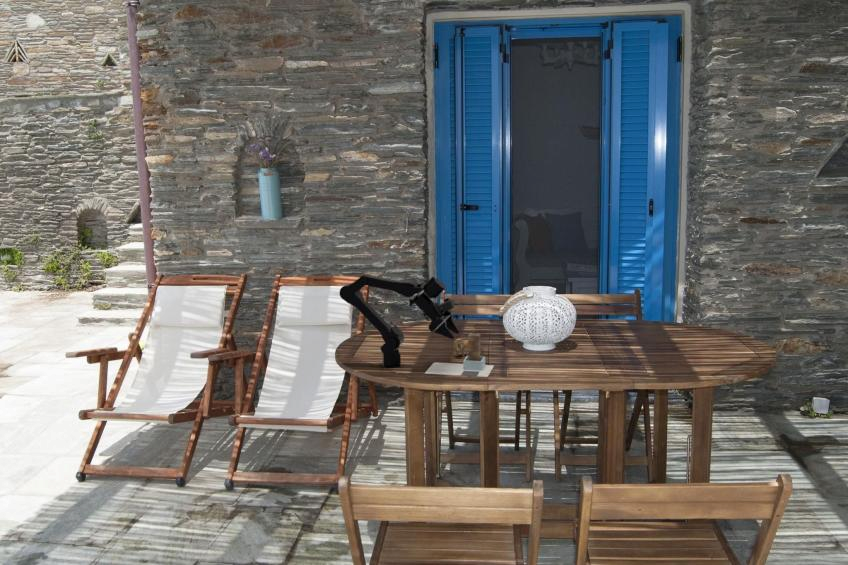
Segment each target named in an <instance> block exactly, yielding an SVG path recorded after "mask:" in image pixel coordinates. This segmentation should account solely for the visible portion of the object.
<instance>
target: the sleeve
mask: <svg viewBox="0 0 848 565" xmlns="http://www.w3.org/2000/svg"><path fill="white" fill-rule="evenodd" d="M462 364H463V370H480V371H482V370H483V368H484V367H485V365H486V356H480V361H468V355H466V356H465V358H464V359H463V362H462Z"/></svg>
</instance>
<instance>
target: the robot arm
mask: <svg viewBox="0 0 848 565" xmlns="http://www.w3.org/2000/svg"><path fill="white" fill-rule="evenodd" d="M366 286H368V287H372V288H377V289H382V290H388V291H392V292H395V293H397V294H398V295H400V296H402V297H403V296H404V297H405V298H409V300H408V301H409V307H412V306H414V304H415V306H416V307H417V308H418V309H419V310H420V312H422V313H423V314H422V315H423V316H424V317H427V318H428V319H429V320H430V323H429V325H428V329H429V331H430V332H431V333H435V334H438V335H441V336H444V337H446V338H448V339H451V340H454V338H455V336H454V334H453V333H455V334H457V335H458V334H459V333H460V331H459V329H458V326H457V325H456V324H455V322H454V320H453V319H454V317H453V316H454V313H453V310H452V309H454V308H455V307H456V305H455V304H454V303H455V301H454V300H453V299H452V298H449V297H447V298H444V299H443V302H441V303H440V304H439V303H438V302H434V301H433V299H434V300H435V299H437V298H438V297H439V296H440V295H441V294H442V293H443V292H445V290H446V289H447V287H446V285H445V284H444V283H443V281H441V280H440V279H438V278H436V277H435V276H431V278H430V279H429V280H428V281H427V282H426V283H425V284H423V283H418V281H416V280H414V279H413V280H412V279H411V280H410V279H405V280H404V279H403V280H402V279H399V280H395V279H391V278H385V277H380V276H375V275H370V274H368V273H365V274H362V275H361V276H360V277H359V278H357V279H355V280H354V281H353V282H351V283H348V284H346V285H343V286H341V287H340V290H339V297H340V298H341V299H342V300H343V301H345V302H346V303H347V304H349V305H351V306H353V307H355V308H356V309H357V311H359V312H360V313H361V314H362V315H363V316H364V317H365V319H366V320H368V322H370V324H372V326H373V327H375V329H376V330H377V331H378V333H380V335H381V338H382V340H383V341H384V344H382V345H381V346H380V351H381V354H382V356H381V357H382V362H381V365H382V367H383V366H384V367H390V368H401V364H402V363H401V362H402V360H401V353H400V350H399V349H400V346H401V345H403V343H404V341H405V335H404V331H403V330H401V329H400V328H399V327H398V325H396V324H393V326H392V325H390V324H389V323H387V322H386V320H385V319H384V318H383V317H382V316H381V315H380V314H379V313H378V312H377V311H376V310H375V308H373V307H372V306H371V305H370V304H369V303H368V302H367V300H366V299H364V296H363V294H362V292H361V290H362V289H363V288H364V287H366ZM421 292H422V293H421ZM413 296H414V297H413ZM412 297H413V298H412ZM384 367H383V368H384Z"/></svg>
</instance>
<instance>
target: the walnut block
mask: <svg viewBox="0 0 848 565" xmlns="http://www.w3.org/2000/svg"><path fill="white" fill-rule="evenodd" d="M467 340H468V352H467V356H468V361H480V357H481V333H472V332H470V333H469V334H468V336H467Z"/></svg>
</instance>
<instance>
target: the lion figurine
mask: <svg viewBox="0 0 848 565" xmlns="http://www.w3.org/2000/svg"><path fill="white" fill-rule="evenodd" d="M453 351H455V353H456V354H455V355H456V357H459V356H460V355H459V353H461V357H465V355H468V339H466V340H465V341H464V340H463V339H462V338H456V339H455V340H454V341H453Z"/></svg>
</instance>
